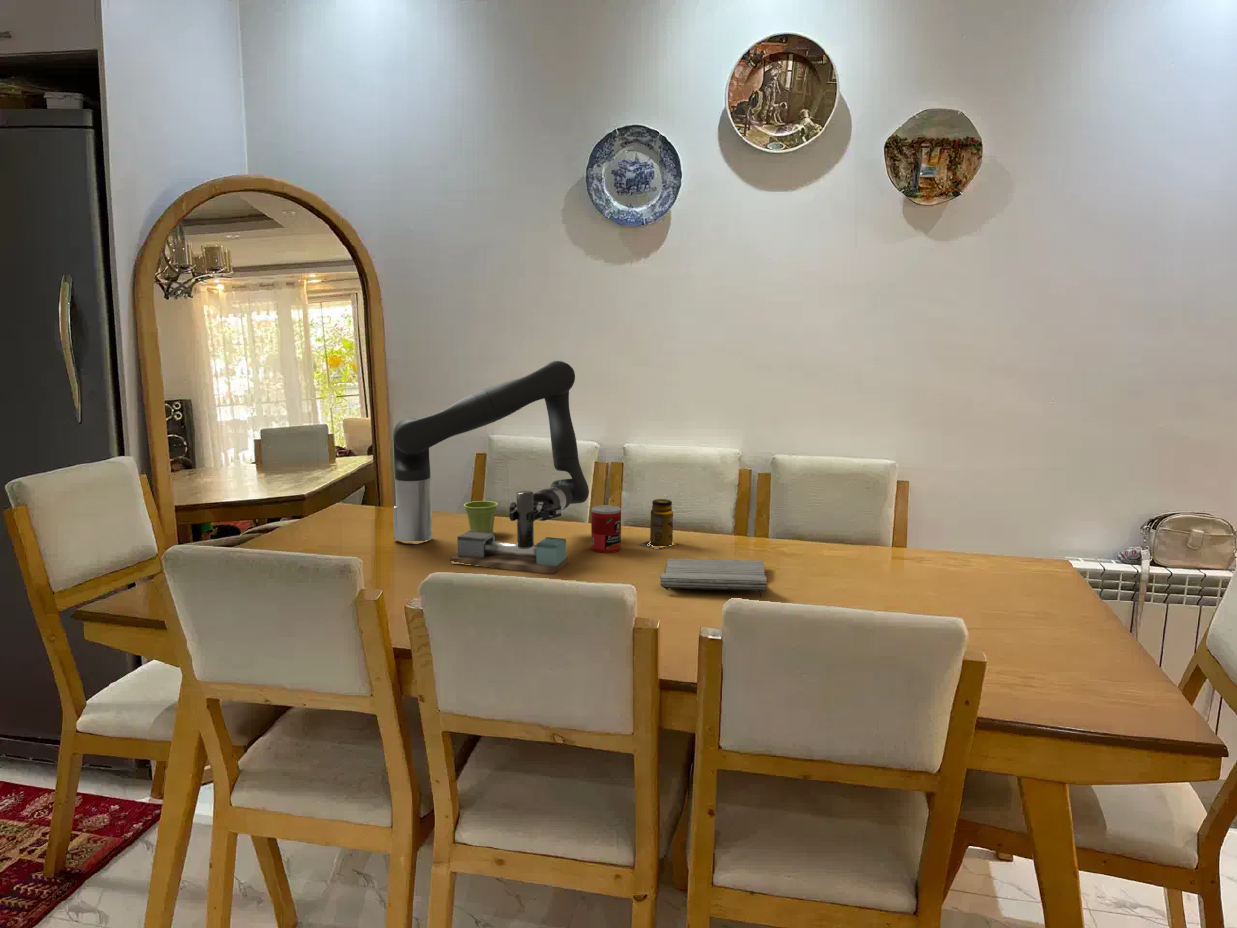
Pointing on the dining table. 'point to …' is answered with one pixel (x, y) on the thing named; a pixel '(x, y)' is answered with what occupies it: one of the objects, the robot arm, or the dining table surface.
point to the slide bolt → (518, 532)
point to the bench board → (511, 563)
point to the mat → (714, 574)
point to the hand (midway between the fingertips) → (520, 517)
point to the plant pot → (481, 515)
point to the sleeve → (473, 544)
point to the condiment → (661, 524)
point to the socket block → (551, 551)
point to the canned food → (606, 528)
